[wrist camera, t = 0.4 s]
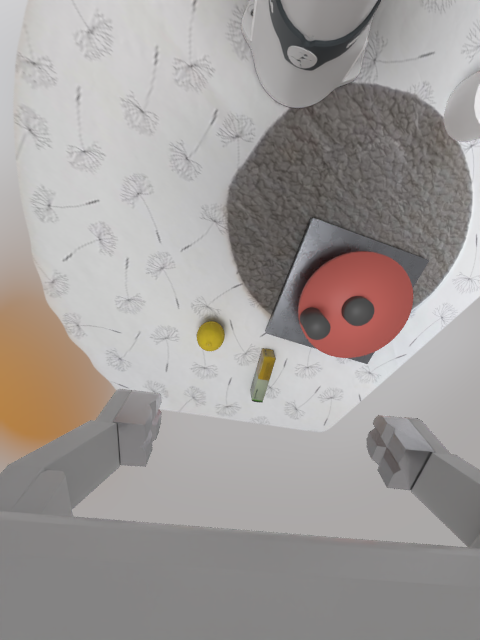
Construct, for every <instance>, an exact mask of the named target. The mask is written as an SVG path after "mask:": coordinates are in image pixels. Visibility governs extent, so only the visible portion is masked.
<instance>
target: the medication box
mask: <svg viewBox="0 0 480 640" xmlns="http://www.w3.org/2000/svg"><path fill="white" fill-rule="evenodd" d="M275 360H276V358H275V355H274V352H273V350H270V349H264V348H262V351H261V355H260V358H259V361H258V365H257V369H256V372H255V376H254V379H253V383H252V386H251V390H250V391H251V398H252V401H254V402H263V399H264V396H265V392H266V389H267V386H268V383H269V379H270V376H271V373H272V369H273V366H274V363H275Z"/></svg>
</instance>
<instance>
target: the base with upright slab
mask: <svg viewBox="0 0 480 640" xmlns="http://www.w3.org/2000/svg"><path fill="white" fill-rule="evenodd" d="M444 125H445V129H446V131H447V133H448V135H449V136H450V137H451V138H453V139H454V140H456V141H459V142H469V141H472V140H476V139H479V138H480V71H478V72H476V73H475V74H473V75H471V76H470V77H468V78H466V79H465V80H463V81H462V82H461V83H460V84H459V85H458V86H457V87H456V88H455V90H454V91H453V92H452V94H451V95H450V97H449V99H448V101H447V104H446V107H445V111H444Z"/></svg>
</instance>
